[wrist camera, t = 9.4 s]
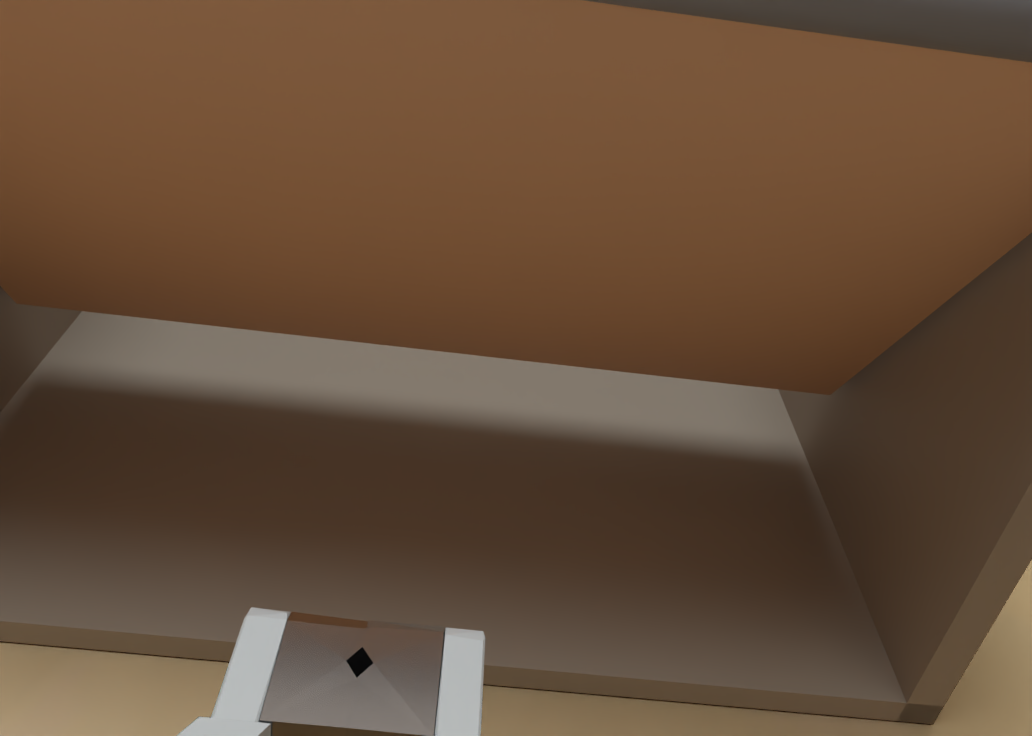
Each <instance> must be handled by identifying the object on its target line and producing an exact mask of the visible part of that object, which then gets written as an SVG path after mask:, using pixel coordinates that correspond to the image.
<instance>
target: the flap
mask: <svg viewBox="0 0 1032 736" xmlns="http://www.w3.org/2000/svg"><path fill="white" fill-rule="evenodd" d="M1030 233H1032V0H0V286H1V287H2V288H3V290H4V291H5V292H6V293H7V294H8V295H9V296H10V297H11V298H12V299H13V300H14V301H15V302H16V303H17V304H23V305H32V306H41V307H50V308H59V309H67V310H76V311H85V312H94V313H103V314H112V315H121V316H130V317H139V318H148V319H156V320H165V321H174V322H183V323H192V324H201V325H210V326H219V327H228V328H236V329H245V330H254V331H263V332H272V333H281V334H290V335H299V336H308V337H317V338H325V339H334V340H343V341H352V342H361V343H370V344H379V345H388V346H397V347H405V348H414V349H423V350H432V351H441V352H450V353H459V354H468V355H477V356H486V357H494V358H503V359H512V360H521V361H530V362H539V363H548V364H557V365H566V366H574V367H583V368H592V369H601V370H610V371H619V372H628V373H637V374H646V375H655V376H663V377H672V378H681V379H690V380H699V381H708V382H717V383H726V384H735V385H743V386H752V387H761V388H770V389H779V390H788V391H797V392H806V393H815V394H824V395H831V394H832V393H833V392H835V391H836V390H837V389H838V388H840V387H841V386H842V385H843V384H845V383H846V382H847V381H848V380H850V379H851V378H852V377H853V376H855V375H856V374H857V373H858V372H859V371H861V370H862V369H863V368H864V367H866V366H867V365H868V364H869V363H871V362H872V361H873V360H874V359H876V358H877V357H878V356H879V355H881V354H882V353H883V352H884V351H886V350H887V349H888V348H889V347H890V346H892V345H893V344H894V343H895V342H897V341H898V340H899V339H900V338H902V337H903V336H904V335H905V334H907V333H908V332H909V331H910V330H912V329H913V328H914V327H915V326H916V325H918V324H919V323H920V322H921V321H923V320H924V319H925V318H926V317H928V316H929V315H930V314H931V313H933V312H934V311H935V310H936V309H938V308H939V307H940V306H941V305H943V304H944V303H945V302H946V301H947V300H949V299H950V298H951V297H952V296H954V295H955V294H956V293H957V292H959V291H960V290H961V289H962V288H964V287H965V286H966V285H967V284H969V283H970V282H971V281H972V280H973V279H975V278H976V277H977V276H978V275H980V274H981V273H982V272H983V271H985V270H986V269H987V268H988V267H990V266H991V265H992V264H993V263H995V262H996V261H997V260H998V259H1000V258H1001V257H1002V256H1003V255H1004V254H1006V253H1007V252H1008V251H1009V250H1011V249H1012V248H1013V247H1014V246H1016V245H1017V244H1018V243H1019V242H1021V241H1022V240H1023V239H1024V238H1026V237H1027V236H1028V235H1029V234H1030Z"/></svg>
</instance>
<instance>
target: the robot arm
mask: <svg viewBox="0 0 1032 736" xmlns="http://www.w3.org/2000/svg"><path fill="white" fill-rule="evenodd" d="M484 655H485V635H484V632H483V631H476V630H466V629H456V628H445V630H444V627H442V626H430V625H419V624H407V623H396V622H385V621H373V620H368V621H362V620H354V619H346V618H338V617H330V616H322V615H314V614H306V613H299V612H288V611H279V610H271V609H262V608H253V607H251V608H250V610H249V611H248V613H247V615H246V616H245V618H244V620H243V623H242V626H241V629H240V632H239V635H238V638H237V641H236V644H235V647H234V650H233V653H232V656H231V659H230V662H229V665H228V668H227V671H226V674H225V677H224V680H223V683H222V686H221V689H220V692H219V695H218V698H217V701H216V704H215V707H214V710H213V713H212V716H211V717H198V718H197V719H195V720H194V721H193V722H192V723H191V724H190V725H188V726H187V727H186V728H185V729H184V730H182V731H181V732H180V733H179V734H178V735H177V736H481V718H482V697H483V676H484Z"/></svg>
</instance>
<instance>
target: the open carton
mask: <svg viewBox="0 0 1032 736" xmlns="http://www.w3.org/2000/svg"><path fill="white" fill-rule="evenodd" d="M1031 560H1032V233H1030V234H1029V235H1028V236H1027V237H1026V238H1024V239H1023V240H1022V241H1021V242H1019V243H1018V244H1017V245H1016V246H1014V247H1013V248H1012V249H1011V250H1009V251H1008V252H1007V253H1006V254H1004V255H1003V256H1002V257H1001V258H1000V259H998V260H997V261H996V262H995V263H993V264H992V265H991V266H990V267H988V268H987V269H986V270H985V271H983V272H982V273H981V274H980V275H978V276H977V277H976V278H975V279H973V280H972V281H971V282H970V283H969V284H967V285H966V286H965V287H964V288H962V289H961V290H960V291H959V292H957V293H956V294H955V295H954V296H952V297H951V298H950V299H949V300H947V301H946V302H945V303H944V304H943V305H941V306H940V307H939V308H938V309H936V310H935V311H934V312H933V313H931V314H930V315H929V316H928V317H926V318H925V319H924V320H923V321H921V322H920V323H919V324H918V325H916V326H915V327H914V328H913V329H912V330H910V331H909V332H908V333H907V334H905V335H904V336H903V337H902V338H900V339H899V340H898V341H897V342H895V343H894V344H893V345H892V346H890V347H889V348H888V349H887V350H886V351H884V352H883V353H882V354H881V355H879V356H878V357H877V358H876V359H874V360H873V361H872V362H871V363H869V364H868V365H867V366H866V367H864V368H863V369H862V370H861V371H859V372H858V373H857V374H856V375H855V376H853V377H852V378H851V379H850V380H848V381H847V382H846V383H845V384H843V385H842V386H841V387H840V388H838V389H837V390H836V391H835V392H833V393H832V394H831V395H824V394H815V393H806V392H797V391H788V390H779V389H770V388H761V387H752V386H743V385H735V384H726V383H717V382H708V381H699V380H690V379H681V378H672V377H663V376H655V375H646V374H637V373H628V372H619V371H610V370H601V369H592V368H583V367H574V366H566V365H557V364H548V363H539V362H530V361H521V360H512V359H503V358H494V357H486V356H477V355H468V354H459V353H450V352H441V351H432V350H423V349H414V348H405V347H397V346H388V345H379V344H370V343H361V342H352V341H343V340H334V339H325V338H317V337H308V336H299V335H290V334H281V333H272V332H263V331H254V330H245V329H236V328H228V327H219V326H210V325H201V324H192V323H183V322H174V321H165V320H156V319H148V318H139V317H130V316H121V315H112V314H103V313H94V312H85V311H76V310H67V309H59V308H50V307H41V306H32V305H23V304H17V303H16V302H15V301H14V300H13V299H12V298H11V297H10V296H9V295H8V294H7V293H6V292H5V291H4V290H3V288H2V287H1V286H0V641H5V642H16V643H27V644H38V645H49V646H61V647H72V648H83V649H94V650H106V651H117V652H128V653H139V654H151V655H162V656H173V657H184V658H195V659H207V660H218V661H229V662H230V659H231V656H232V653H233V650H234V647H235V644H236V641H237V638H238V635H239V632H240V629H241V626H242V623H243V620H244V618H245V616H246V615H247V613H248V611H249V610H250V608H251V607H253V608H262V609H271V610H279V611H288V612H299V613H306V614H314V615H322V616H330V617H338V618H346V619H354V620H362V621H368V620H373V621H385V622H396V623H407V624H419V625H430V626H442V627H444V630H445V628H456V629H466V630H476V631H483V632H484V635H485V655H484V676H483V684H487V685H499V686H510V687H521V688H532V689H544V690H555V691H566V692H577V693H588V694H600V695H611V696H622V697H633V698H645V699H656V700H667V701H678V702H689V703H701V704H712V705H723V706H734V707H746V708H757V709H768V710H779V711H791V712H802V713H813V714H824V715H835V716H847V717H858V718H869V719H880V720H892V721H903V722H914V723H925V724H933V723H934V722H935V720H936V718H937V717H938V715H939V713H940V712H941V710H942V708H943V707H944V705H945V703H946V702H947V700H948V698H949V697H950V695H951V693H952V692H953V690H954V688H955V687H956V685H957V683H958V682H959V680H960V678H961V677H962V675H963V673H964V672H965V670H966V668H967V667H968V665H969V663H970V662H971V660H972V658H973V657H974V655H975V653H976V652H977V650H978V648H979V647H980V645H981V643H982V642H983V640H984V638H985V637H986V635H987V633H988V632H989V630H990V628H991V627H992V625H993V623H994V621H995V620H996V618H997V616H998V615H999V613H1000V611H1001V610H1002V608H1003V606H1004V605H1005V603H1006V601H1007V600H1008V598H1009V596H1010V595H1011V593H1012V591H1013V590H1014V588H1015V586H1016V585H1017V583H1018V581H1019V580H1020V578H1021V576H1022V575H1023V573H1024V571H1025V570H1026V568H1027V566H1028V565H1029V563H1030V561H1031Z"/></svg>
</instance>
